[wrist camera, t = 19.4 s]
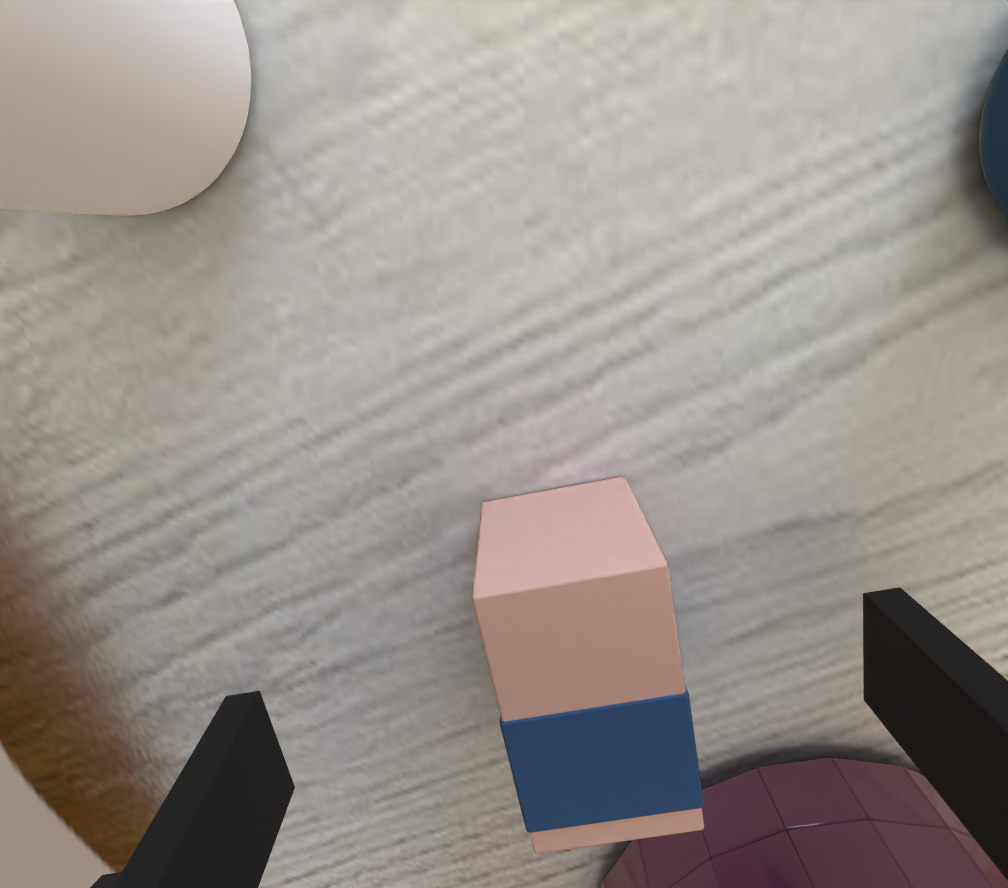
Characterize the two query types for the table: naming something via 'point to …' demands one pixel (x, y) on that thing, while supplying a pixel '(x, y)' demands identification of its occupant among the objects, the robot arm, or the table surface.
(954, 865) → the bowl
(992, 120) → the soda can
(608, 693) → the eraser
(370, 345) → the table surface
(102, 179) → the can
